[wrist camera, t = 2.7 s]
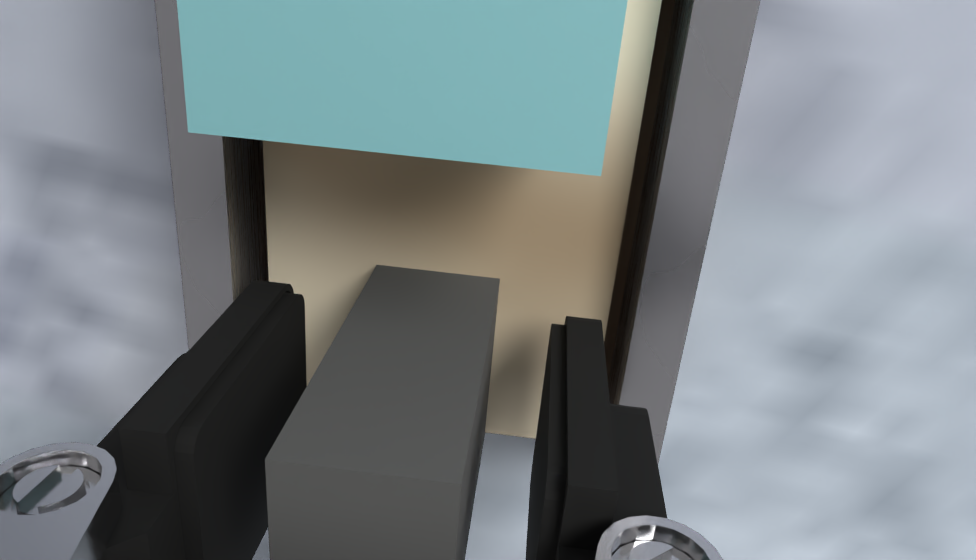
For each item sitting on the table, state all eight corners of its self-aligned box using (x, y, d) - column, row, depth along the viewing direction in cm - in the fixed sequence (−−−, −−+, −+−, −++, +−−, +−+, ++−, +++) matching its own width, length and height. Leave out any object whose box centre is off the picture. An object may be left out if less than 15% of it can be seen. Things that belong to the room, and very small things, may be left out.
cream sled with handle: (267, -256, 10) (-61, -470, 5) (691, -221, 10) (841, -410, 4) (289, 382, 14) (126, 643, 9) (585, 418, 14) (598, 710, 9)
